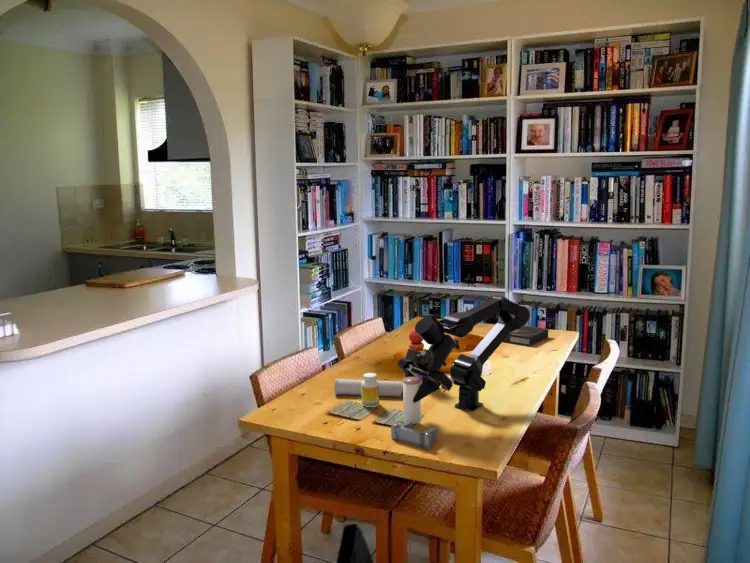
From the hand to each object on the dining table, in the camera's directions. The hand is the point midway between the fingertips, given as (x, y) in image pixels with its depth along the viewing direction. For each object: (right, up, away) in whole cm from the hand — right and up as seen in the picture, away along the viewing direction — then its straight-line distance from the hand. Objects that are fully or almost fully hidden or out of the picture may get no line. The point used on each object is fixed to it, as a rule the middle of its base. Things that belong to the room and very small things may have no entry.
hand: (408, 399), depth 182 cm
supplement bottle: (-10, -5, +18) cm, 21 cm away
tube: (-9, -4, +26) cm, 28 cm away
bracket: (+2, -9, -8) cm, 13 cm away
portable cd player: (+51, +9, +87) cm, 101 cm away
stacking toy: (+4, -1, +36) cm, 36 cm away
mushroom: (+1, -6, +2) cm, 7 cm away
